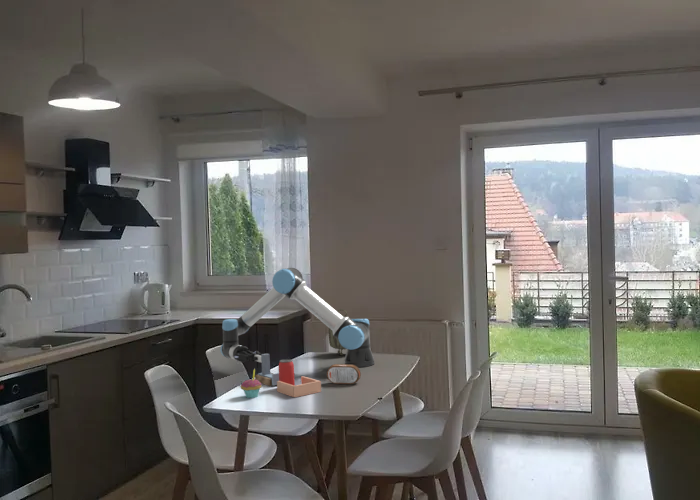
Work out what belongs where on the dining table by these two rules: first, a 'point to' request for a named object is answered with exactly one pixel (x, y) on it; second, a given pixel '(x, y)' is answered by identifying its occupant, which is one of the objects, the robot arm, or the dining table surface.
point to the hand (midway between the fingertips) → (262, 359)
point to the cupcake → (251, 387)
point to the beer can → (286, 371)
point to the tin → (343, 374)
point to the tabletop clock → (334, 341)
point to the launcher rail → (264, 380)
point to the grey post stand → (268, 369)
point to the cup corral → (300, 387)
